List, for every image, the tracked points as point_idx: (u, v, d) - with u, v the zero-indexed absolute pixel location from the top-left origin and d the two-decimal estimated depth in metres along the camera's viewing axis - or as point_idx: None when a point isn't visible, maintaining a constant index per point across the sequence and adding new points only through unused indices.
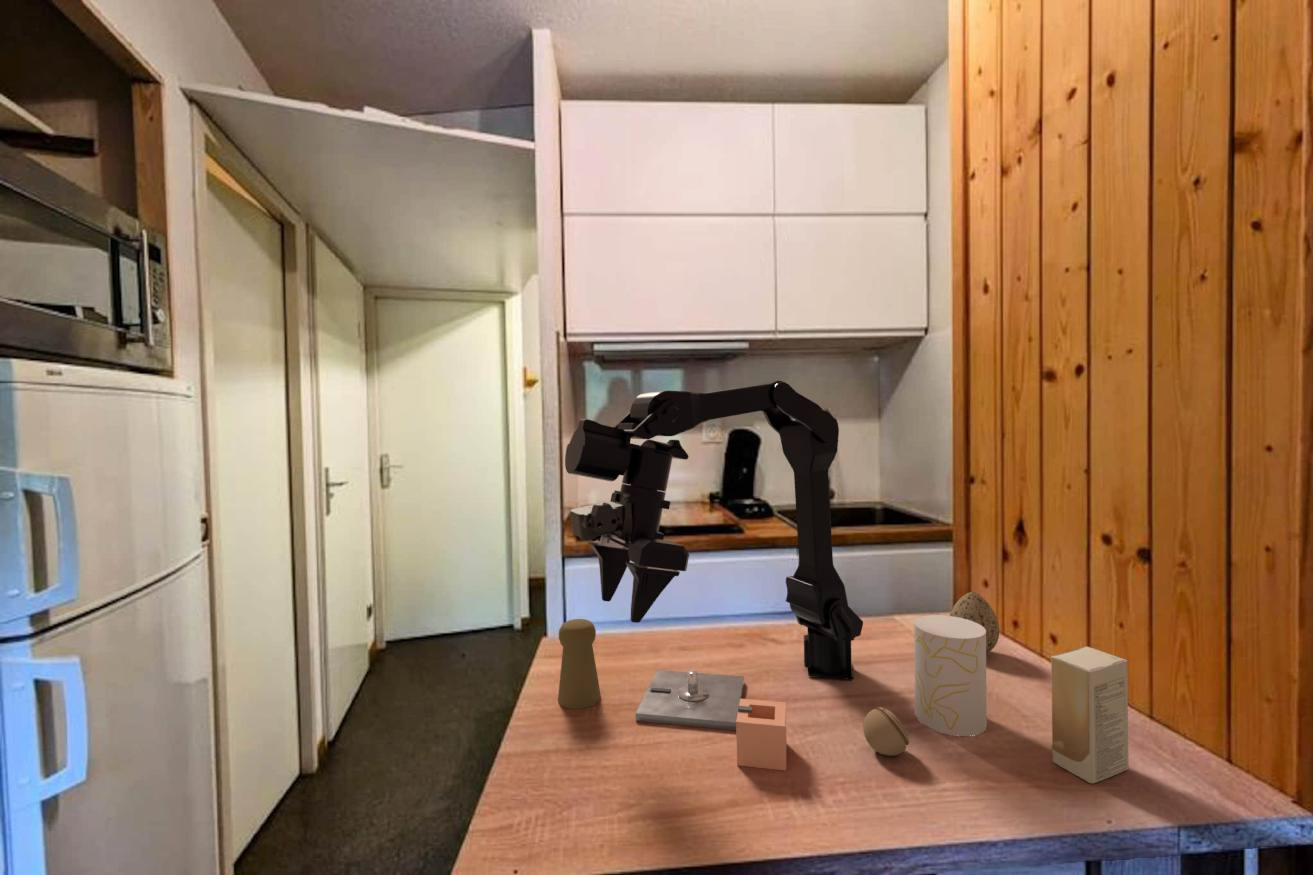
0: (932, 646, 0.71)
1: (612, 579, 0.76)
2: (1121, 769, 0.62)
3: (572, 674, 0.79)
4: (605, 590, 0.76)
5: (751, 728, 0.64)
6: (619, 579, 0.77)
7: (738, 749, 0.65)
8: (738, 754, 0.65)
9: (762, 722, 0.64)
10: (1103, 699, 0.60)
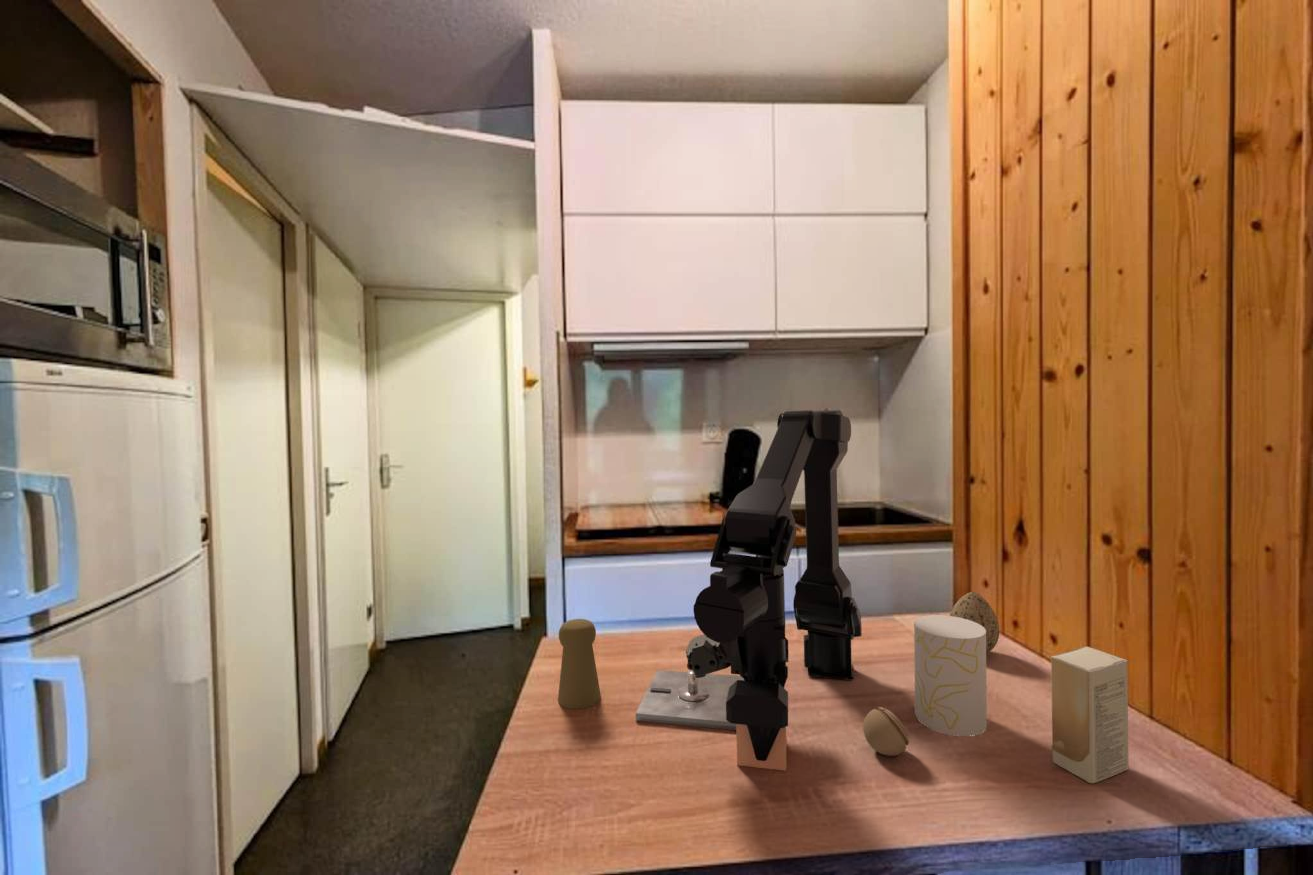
0: (932, 646, 0.71)
1: None
2: (1121, 769, 0.62)
3: (572, 674, 0.79)
4: None
5: None
6: None
7: (738, 749, 0.65)
8: (738, 754, 0.65)
9: None
10: (1103, 699, 0.60)
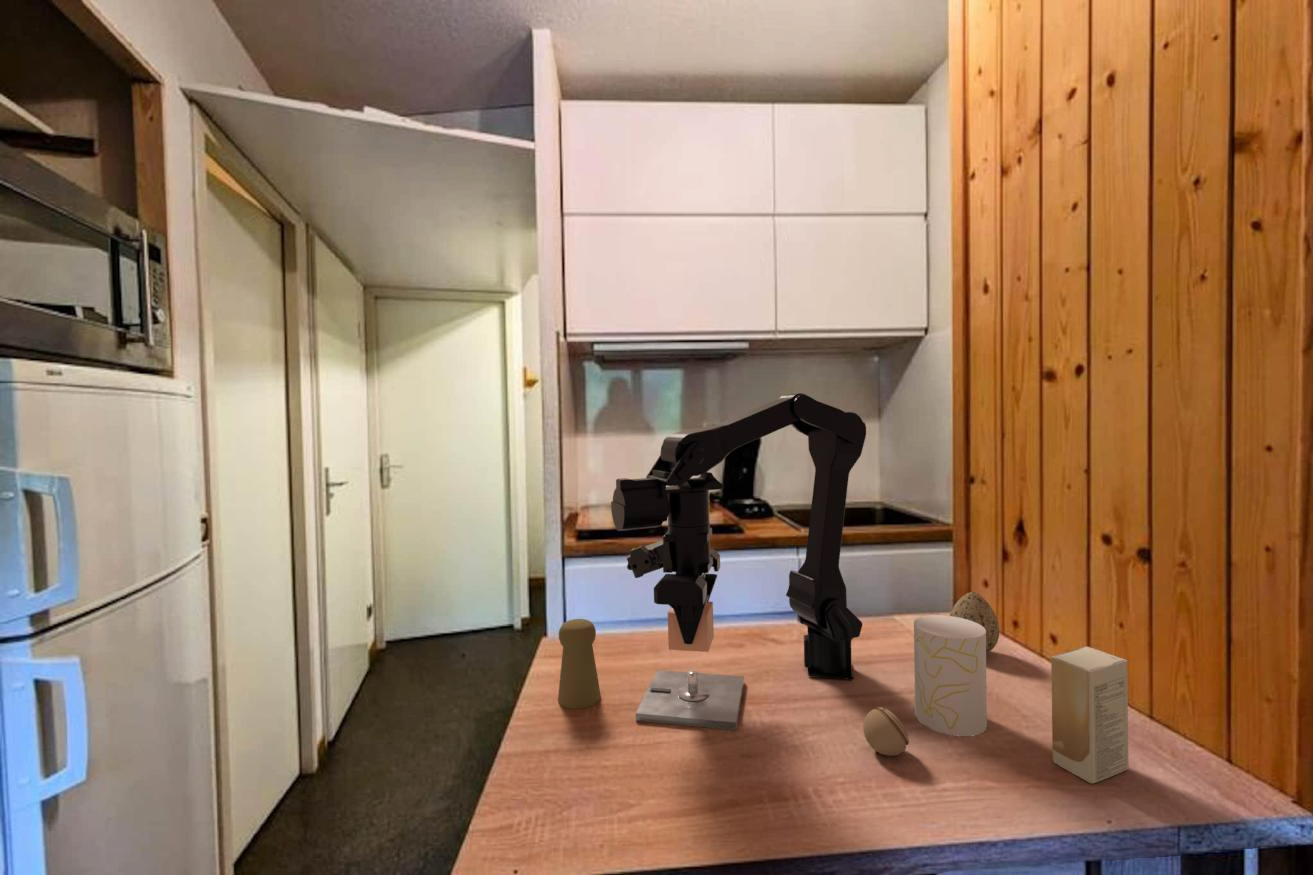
0: (932, 646, 0.71)
1: None
2: (1121, 769, 0.62)
3: (572, 674, 0.79)
4: None
5: None
6: None
7: (669, 636, 0.78)
8: (669, 640, 0.78)
9: None
10: (1103, 699, 0.60)
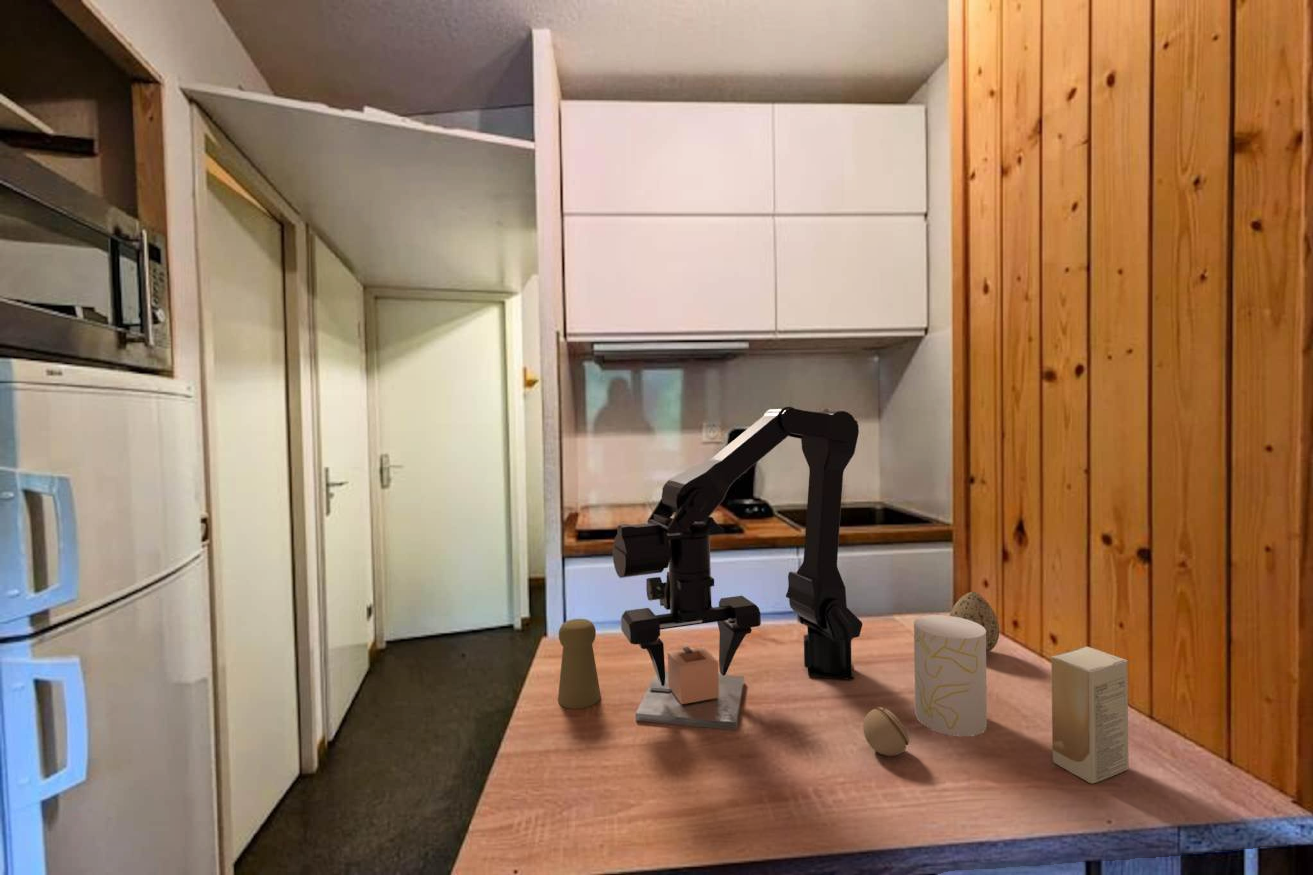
0: (932, 646, 0.71)
1: (723, 655, 0.81)
2: (1121, 769, 0.62)
3: (572, 674, 0.79)
4: (721, 663, 0.81)
5: (671, 660, 0.80)
6: (725, 657, 0.80)
7: (668, 674, 0.82)
8: (668, 678, 0.82)
9: (676, 659, 0.79)
10: (1103, 699, 0.60)
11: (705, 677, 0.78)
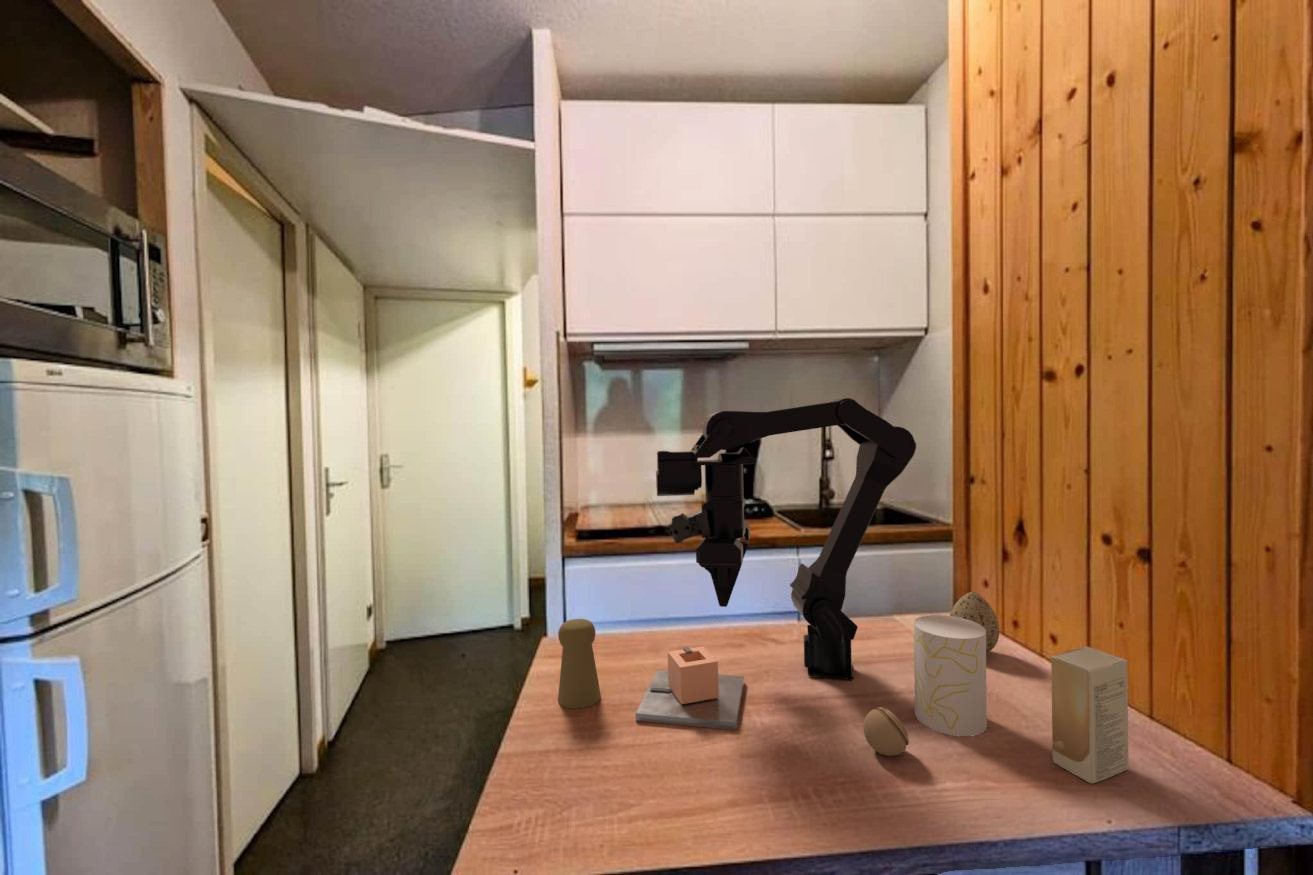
0: (932, 646, 0.71)
1: None
2: (1121, 769, 0.62)
3: (572, 674, 0.79)
4: None
5: (671, 660, 0.80)
6: None
7: (668, 674, 0.82)
8: (668, 678, 0.82)
9: (676, 659, 0.79)
10: (1103, 699, 0.60)
11: (705, 677, 0.78)
